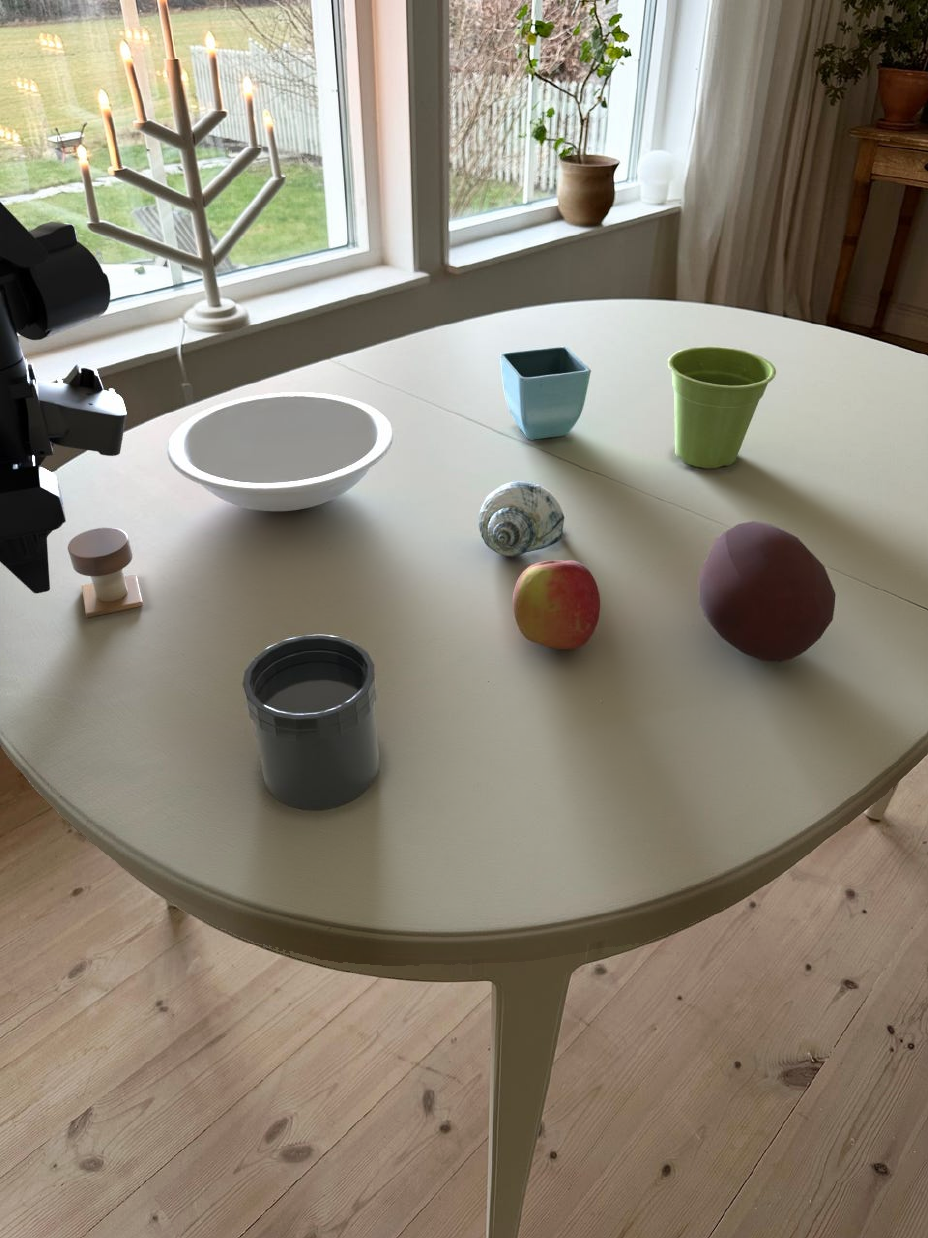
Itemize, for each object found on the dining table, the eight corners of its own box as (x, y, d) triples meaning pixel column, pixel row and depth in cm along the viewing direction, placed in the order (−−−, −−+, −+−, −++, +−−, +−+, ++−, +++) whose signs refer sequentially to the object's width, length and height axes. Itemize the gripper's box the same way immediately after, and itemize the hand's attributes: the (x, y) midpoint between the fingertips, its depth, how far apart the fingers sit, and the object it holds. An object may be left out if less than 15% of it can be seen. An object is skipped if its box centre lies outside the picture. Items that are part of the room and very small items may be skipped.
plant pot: (666, 480, 105) (679, 386, 98) (647, 435, 115) (659, 346, 108) (769, 479, 105) (790, 385, 98) (742, 434, 115) (759, 345, 108)
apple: (608, 625, 83) (617, 550, 78) (581, 679, 77) (588, 601, 72) (529, 606, 85) (533, 531, 81) (496, 656, 79) (498, 579, 75)
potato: (712, 695, 75) (734, 591, 69) (672, 602, 86) (687, 504, 80) (844, 689, 76) (878, 585, 70) (788, 597, 86) (813, 499, 80)
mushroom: (85, 614, 84) (69, 562, 80) (80, 584, 88) (65, 534, 84) (144, 601, 85) (131, 550, 82) (137, 572, 89) (124, 522, 86)
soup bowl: (299, 572, 90) (292, 513, 86) (131, 506, 100) (117, 451, 96) (437, 474, 106) (436, 421, 102) (279, 426, 117) (273, 376, 113)
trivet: (86, 618, 84) (85, 613, 84) (82, 589, 88) (81, 584, 87) (143, 605, 86) (142, 601, 85) (136, 578, 89) (135, 573, 89)
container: (276, 827, 64) (258, 733, 59) (249, 743, 71) (231, 652, 66) (398, 790, 67) (392, 697, 62) (361, 713, 74) (352, 623, 68)
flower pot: (497, 420, 118) (498, 352, 113) (562, 412, 120) (566, 345, 115) (518, 450, 111) (520, 378, 106) (586, 441, 113) (592, 370, 108)
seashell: (573, 544, 97) (488, 585, 90) (530, 494, 99) (444, 531, 93) (597, 505, 92) (509, 546, 85) (551, 454, 94) (462, 489, 88)
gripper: (118, 393, 57) (165, 601, 66) (92, 307, 71) (133, 488, 80) (-82, 421, 53) (-3, 637, 63) (-68, 325, 67) (-6, 512, 77)
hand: (39, 560), depth 71 cm, fingers open, 9 cm apart
